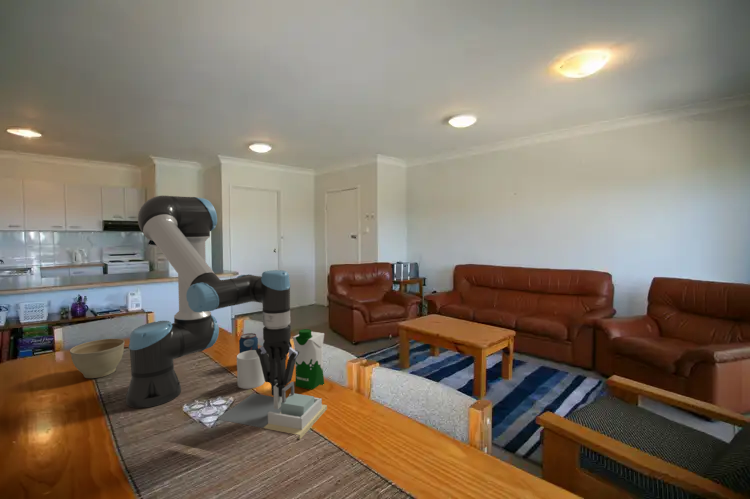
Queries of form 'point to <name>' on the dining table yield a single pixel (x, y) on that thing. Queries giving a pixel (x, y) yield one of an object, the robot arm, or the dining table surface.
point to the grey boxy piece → (295, 402)
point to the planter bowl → (97, 357)
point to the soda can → (248, 342)
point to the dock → (273, 415)
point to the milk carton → (309, 359)
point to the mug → (249, 370)
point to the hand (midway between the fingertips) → (278, 406)
